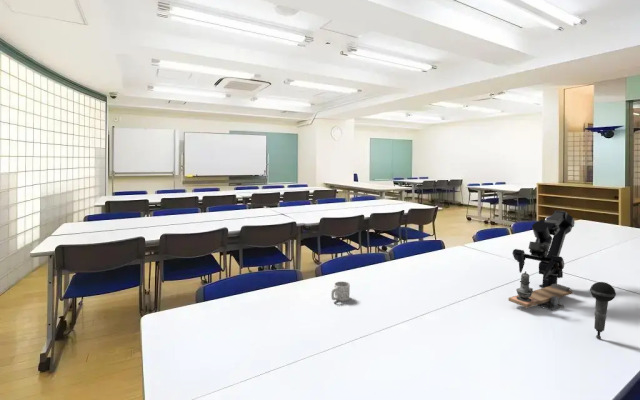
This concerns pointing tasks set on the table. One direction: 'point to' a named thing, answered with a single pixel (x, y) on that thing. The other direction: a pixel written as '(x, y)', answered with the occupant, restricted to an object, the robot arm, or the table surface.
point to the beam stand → (551, 303)
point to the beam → (543, 295)
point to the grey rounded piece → (524, 288)
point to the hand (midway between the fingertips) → (531, 274)
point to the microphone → (601, 303)
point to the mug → (341, 291)
